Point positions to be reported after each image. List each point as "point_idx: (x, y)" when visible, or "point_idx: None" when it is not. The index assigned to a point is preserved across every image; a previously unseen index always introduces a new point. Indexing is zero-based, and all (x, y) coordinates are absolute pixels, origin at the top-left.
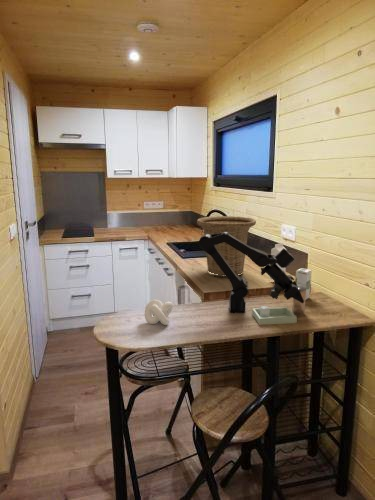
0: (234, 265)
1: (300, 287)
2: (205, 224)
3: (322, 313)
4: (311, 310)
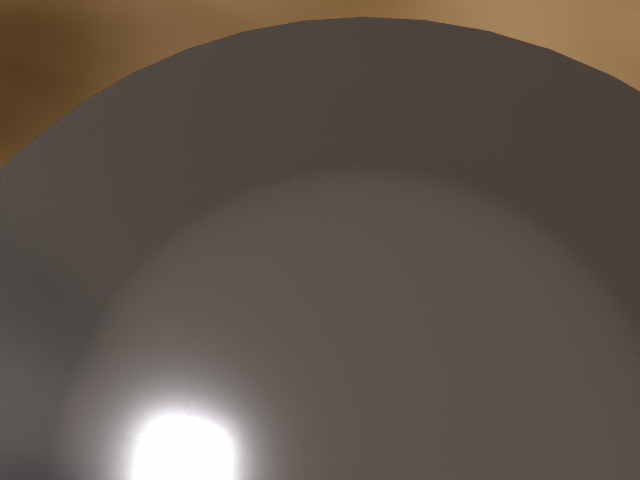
0: None
1: (195, 403)
2: None
3: (351, 4)
4: None
